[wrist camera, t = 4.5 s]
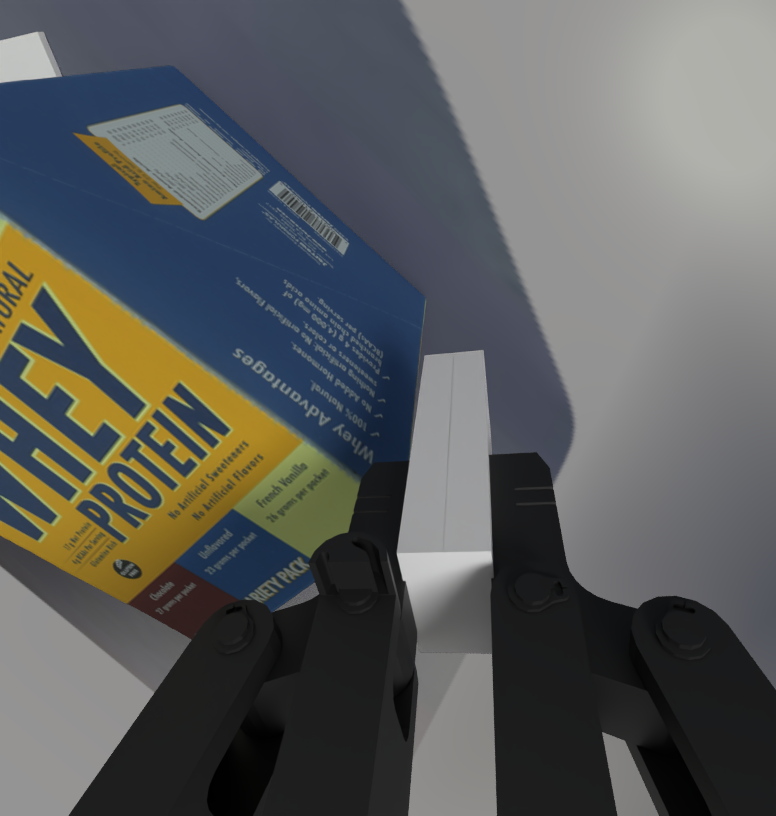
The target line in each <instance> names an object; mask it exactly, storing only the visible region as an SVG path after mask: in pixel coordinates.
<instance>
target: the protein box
mask: <svg viewBox="0 0 776 816" xmlns="http://www.w3.org/2000/svg"><path fill="white" fill-rule="evenodd" d="M425 306H426V298H425V297H424V296H423V295H422V294H421V293H420V292H419V291H418V290H417V289H416V288H414V287H413V286H412V285H411V284H410V283H409V282H408V281H407V280H406V279H404V278H403V277H402V276H401V275H400V274H399V273H398V272H397V271H396V270H394V269H393V268H392V267H391V266H390V265H389V264H388V263H387V262H386V261H385V260H384V259H382V258H381V257H380V256H379V255H378V254H377V253H376V252H375V251H374V250H373V249H372V248H371V247H369V246H368V245H367V244H366V243H365V242H364V241H363V240H362V239H361V238H360V237H358V236H357V235H356V234H355V233H354V232H353V231H352V230H351V229H350V228H349V227H347V226H346V225H345V224H344V223H343V222H342V221H341V220H340V219H339V218H338V217H337V216H336V215H335V214H333V213H332V212H331V211H330V210H329V209H328V208H327V207H326V206H325V205H324V204H323V203H321V202H320V201H319V200H318V199H317V198H316V197H315V196H314V195H313V194H312V193H311V192H310V191H309V190H308V189H307V188H305V187H304V186H303V185H302V184H301V183H300V182H299V181H298V180H297V179H296V178H295V177H294V176H293V175H292V174H290V173H289V172H288V171H287V170H286V169H285V168H284V167H283V166H282V165H281V164H280V163H279V162H277V161H276V160H275V159H274V158H273V157H272V156H271V155H270V154H269V153H268V152H267V151H266V150H265V149H264V148H263V147H261V146H260V145H259V144H258V143H257V142H256V141H255V140H254V139H253V138H252V137H251V136H250V135H249V134H248V133H246V132H245V131H244V130H243V129H242V128H241V127H240V126H239V125H238V124H237V123H236V122H235V121H233V120H232V119H231V118H230V117H229V116H228V115H227V114H226V113H225V112H224V111H222V110H221V109H220V108H219V107H218V106H217V105H216V104H215V103H214V102H213V101H212V100H211V99H209V98H208V97H207V96H206V95H205V94H204V93H203V92H202V91H201V90H200V89H199V88H197V87H196V86H195V85H194V84H193V83H192V82H191V81H190V80H189V79H187V78H186V77H185V76H184V75H183V74H182V73H181V72H180V71H179V70H177V69H176V68H175V67H174V66H171V65H167V66H160V67H150V68H141V69H129V70H120V71H111V72H100V73H90V74H81V75H72V76H61V77H51V78H42V79H32V80H19V81H10V82H2V83H0V536H2V537H4V538H6V539H8V540H10V541H12V542H13V543H15V544H17V545H19V546H21V547H23V548H25V549H27V550H29V551H31V552H32V553H34V554H36V555H37V556H39V557H41V558H42V559H44V560H46V561H48V562H50V563H52V564H54V565H55V566H57V567H58V568H60V569H62V570H64V571H66V572H68V573H70V574H71V575H73V576H75V577H77V578H79V579H81V580H83V581H85V582H87V583H89V584H91V585H92V586H94V587H96V588H98V589H100V590H102V591H104V592H106V593H107V594H109V595H111V596H113V597H115V598H116V599H118V600H120V601H122V602H124V603H126V604H128V605H131V606H133V607H135V608H137V609H138V610H140V611H142V612H144V613H146V614H147V615H149V616H151V617H153V618H155V619H157V620H158V621H160V622H162V623H164V624H166V625H167V626H169V627H170V628H172V629H174V630H176V631H178V632H180V633H182V634H183V635H185V636H187V637H188V638H190V639H193V638H194V636H195V635H196V633H197V632H198V630H199V629H200V628H201V626H202V625H203V624H204V623H205V621H206V620H207V619H208V618H209V617H210V616H211V615H212V614H213V613H214V612H215V611H217V610H219V609H220V608H222V607H223V606H225V605H227V604H229V603H232V602H236V601H239V600H242V599H243V600H257V601H259V602H261V603H263V604H265V605H267V607H268V608H269V610H270V611H271V612H273V611H275V610H276V609H277V608H279V607H280V606H282V605H283V604H285V603H286V602H288V601H289V600H290V599H292V598H293V597H295V596H296V595H297V594H299V593H300V592H301V591H303V590H304V589H306V588H307V587H308V586H310V585H311V584H313V583H314V582H315V580H314V578H313V575H312V572H311V569H310V567H309V564H308V562H309V560H310V558H311V556H312V555H313V553H314V551H315V550H316V549H317V548H318V547H319V546H320V545H321V544H323V543H324V542H325V541H326V540H328V539H330V538H332V537H334V536H336V535H338V534H342V533H348V531H349V527H350V523H351V518H352V514H354V511H353V510H354V506H355V502H356V500H357V494H358V490H359V486H360V482H361V478H362V477H363V476H364V474H365V473H366V472H367V471H368V469H369V468H370V467H371V466H372V464H373V463H375V462H394V461H409V459H410V449H411V437H412V427H413V418H414V408H415V398H416V388H417V379H418V370H419V361H420V351H421V342H422V330H423V323H424V315H425Z"/></svg>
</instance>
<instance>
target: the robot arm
mask: <svg viewBox="0 0 776 816" xmlns="http://www.w3.org/2000/svg"><path fill="white" fill-rule="evenodd" d="M353 511H354V514H352V518H351V523H350V527H349V531H348V533H342V534H338V535H336V536H334V537H332V538H330V539H328V540H326V541H325V542H324V543H323V544H321V545H320V546H319V547H318V548H317V549H316V550H315V551H314V553H313V555H312V556H311V558H310V560H309V562H308V564H309V567H310V569H311V572H312V575H313V578H314V580H315V583H316V586H317V588H318V591H319V595H317V596H316V597H314V598H313V599H311V600H309V601H306V602H304V603H301V604H298V605H295V606H291V607H288V608H285V609H281V610H278V611H275V612H271V611H270V610H269V608H268V607H267V605H265V604H263V603H261V602H259V601H257V600H243V599H242V600H239V601H236V602H232V603H229V604H227V605H225V606H223V607H222V608H220V609H219V610H217V611H215V612H214V613H213V614H212V615H211V616H210V617H209V618H208V619H207V620H206V621H205V623H204V624H203V625H202V626H201V628H200V629H199V630H198V632H197V633H196V635H195V636H194V638H193V639H192V640H191V642H190V643H189V645H188V646H187V648H186V649H185V650H184V652H183V653H182V655H181V656H180V658H179V659H178V660H177V662H176V663H175V665H174V666H173V668H172V669H171V670H170V672H169V673H168V675H167V676H166V677H165V679H164V680H163V682H162V683H161V685H160V686H159V687H158V689H157V690H156V692H155V693H154V695H153V696H152V697H151V699H150V700H149V702H148V703H147V705H146V706H145V707H144V709H143V710H142V712H141V713H140V715H139V716H138V717H137V719H136V720H135V722H134V723H133V725H132V726H131V727H130V729H129V730H128V732H127V733H126V734H125V736H124V737H123V739H122V740H121V742H120V743H119V745H118V746H117V747H116V749H115V750H114V752H113V753H112V754H111V756H110V757H109V759H108V760H107V762H106V763H105V764H104V766H103V767H102V769H101V771H100V772H99V773H98V775H97V776H96V777H95V779H94V780H93V782H92V783H91V784H90V786H89V787H88V789H87V790H86V791H85V793H84V794H83V796H82V797H81V799H80V800H79V802H78V803H77V804H76V806H75V807H74V809H73V810H72V811H71V813H70V814H69V816H408V810H409V797H410V783H411V772H412V759H413V746H414V733H415V720H416V707H417V694H418V677H417V670H416V666H415V655H416V643H417V642H418V646H419V651H420V653H481V654H486V653H487V654H489V653H490V654H492V666H493V698H494V728H495V729H494V730H495V763H496V796H497V816H617V811H616V806H615V800H614V796H613V789H612V784H611V778H610V773H609V768H608V762H607V757H606V751H605V746H604V741H603V736H602V732H604V733H606V734H609V735H612V736H615V737H617V738H620V739H622V740H625V741H626V744H627V746H628V748H629V750H630V753H631V755H632V757H633V759H634V761H635V764H636V766H637V768H638V770H639V772H640V775H641V777H642V779H643V781H644V783H645V786H646V788H647V790H648V792H649V794H650V797H651V799H652V801H653V803H654V805H655V808H656V810H657V812H658V814H659V816H776V690H775V688H774V687H773V686H772V684H771V683H770V682H769V680H768V679H767V677H766V676H765V675H764V674H763V672H762V671H761V669H760V668H759V666H758V665H757V664H756V662H755V661H754V660H753V658H752V657H751V656H750V654H749V653H748V651H747V650H746V649H745V647H744V646H743V645H742V643H741V642H740V641H739V639H738V638H737V637H736V635H735V634H734V632H733V631H732V630H731V628H730V627H729V625H728V624H727V623H726V622H725V621H723V620H722V619H721V618H720V617H719V616H718V615H717V614H716V613H715V612H714V611H713V610H711V609H709V608H707V607H706V606H704V605H702V604H700V603H698V602H697V601H693V600H690V599H686V598H682V597H678V596H664V597H663V596H662V597H656V598H653V599H651V600H649V601H646V602H644V603H643V604H642V605H641V606H640V607H639V608H638V609H636V608H633V607H629V606H625V605H622V604H618V603H614V602H611V601H608V600H605V599H603V598H600V597H597V596H596V595H594V594H592V593H591V592H589V591H587V590H586V589H584V588H583V587H582V586H581V585H580V584H579V583H578V582H577V581H576V580H575V579H574V577H573V576H572V574H571V573H570V571H569V568H568V565H567V562H566V556H565V551H564V545H563V540H562V534H561V529H560V523H559V518H558V512H557V507H556V501H555V495H554V490H553V484H552V478H551V473H550V468H549V467H548V465H547V464H546V463H545V462H544V461H543V459H542V458H541V457H540V456H539V455H538V453H537V452H534V453H515V454H497V455H492V451H491V433H490V421H489V410H488V398H487V386H486V374H485V363H484V351H483V350H480V351H469V352H458V353H447V354H436V355H425V357H424V364H423V371H422V378H421V385H420V392H419V399H418V406H417V413H416V420H415V427H414V435H413V442H412V449H411V456H410V461H394V462H375V463H373V464H372V466H371V467H370V468H369V469H368V471H367V472H366V473H365V474H364V476H363V477H362V478H361V482H360V486H359V490H358V494H357V500H356V502H355V506H354V510H353Z"/></svg>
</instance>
